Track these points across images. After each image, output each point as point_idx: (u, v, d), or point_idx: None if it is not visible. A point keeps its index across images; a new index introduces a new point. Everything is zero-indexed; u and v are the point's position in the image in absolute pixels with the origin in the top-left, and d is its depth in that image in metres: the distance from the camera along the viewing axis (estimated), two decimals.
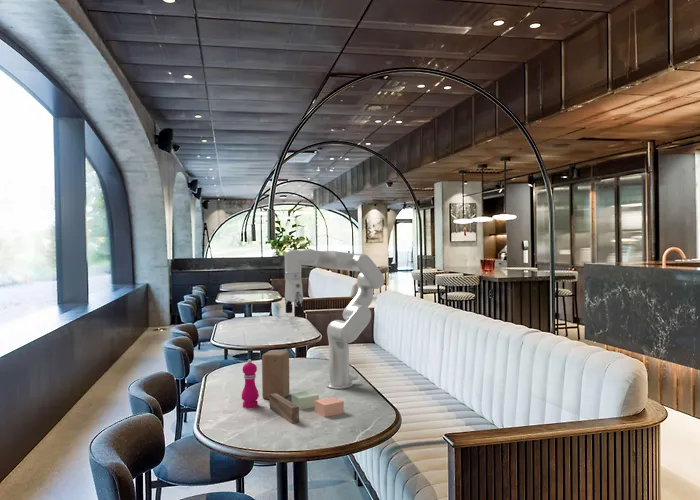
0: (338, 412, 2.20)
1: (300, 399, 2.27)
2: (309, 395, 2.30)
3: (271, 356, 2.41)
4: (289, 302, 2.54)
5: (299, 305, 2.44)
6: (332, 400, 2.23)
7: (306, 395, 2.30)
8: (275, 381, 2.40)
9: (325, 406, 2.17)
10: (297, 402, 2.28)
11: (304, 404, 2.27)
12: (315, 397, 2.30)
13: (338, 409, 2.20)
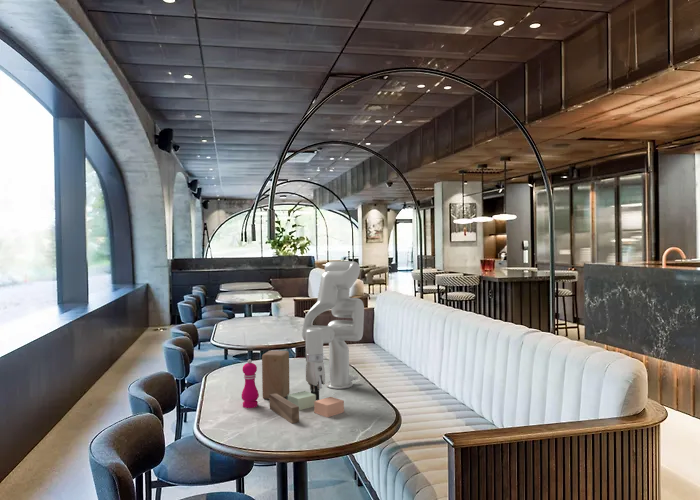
0: (339, 411, 2.21)
1: (299, 400, 2.26)
2: (307, 395, 2.30)
3: (271, 356, 2.41)
4: None
5: (317, 390, 2.33)
6: (332, 400, 2.23)
7: (303, 395, 2.30)
8: (275, 381, 2.40)
9: (328, 406, 2.17)
10: (295, 403, 2.27)
11: (302, 404, 2.27)
12: (312, 396, 2.30)
13: (339, 408, 2.21)
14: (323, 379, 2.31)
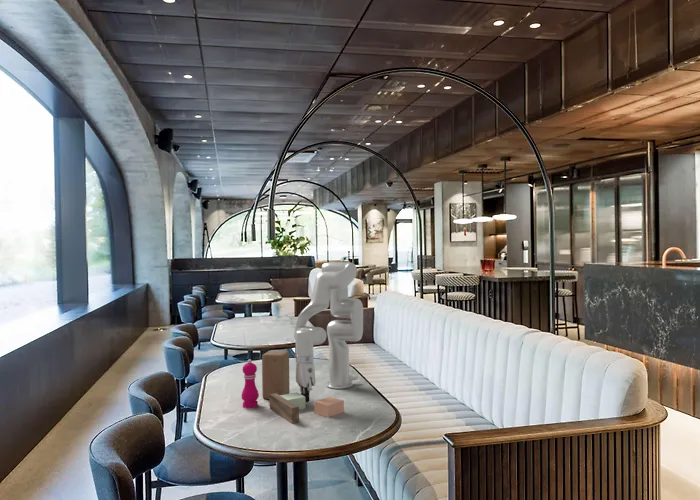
0: (339, 411, 2.21)
1: None
2: (296, 397, 2.27)
3: (271, 356, 2.41)
4: (304, 389, 2.33)
5: (307, 392, 2.30)
6: (332, 400, 2.23)
7: (293, 397, 2.28)
8: (275, 381, 2.40)
9: (328, 406, 2.17)
10: None
11: None
12: (301, 398, 2.28)
13: (339, 408, 2.21)
14: (313, 381, 2.28)
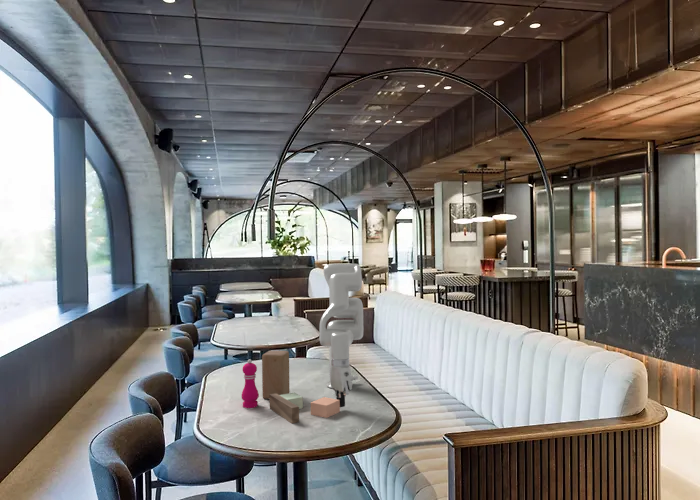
0: (336, 411, 2.21)
1: None
2: (293, 397, 2.27)
3: (271, 356, 2.41)
4: None
5: (343, 396, 2.23)
6: (327, 400, 2.23)
7: (290, 397, 2.28)
8: (275, 381, 2.40)
9: (327, 406, 2.16)
10: None
11: None
12: (299, 399, 2.27)
13: (336, 408, 2.21)
14: (349, 385, 2.21)
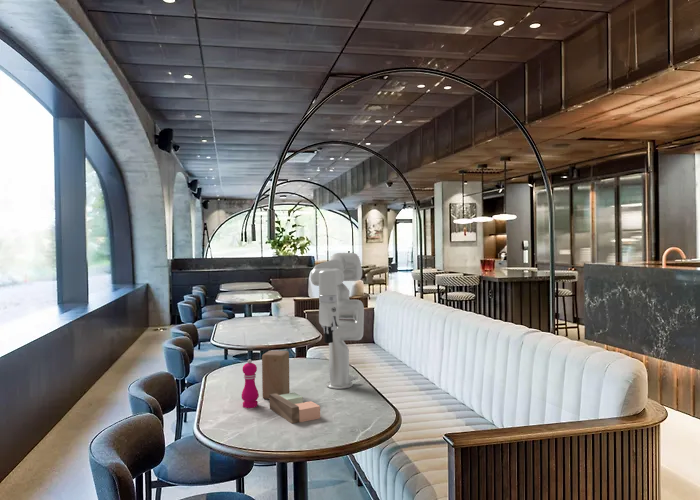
0: (314, 417, 2.14)
1: None
2: (294, 397, 2.27)
3: (271, 356, 2.41)
4: None
5: (330, 332, 2.28)
6: (309, 404, 2.17)
7: (290, 397, 2.28)
8: (275, 381, 2.40)
9: (300, 411, 2.11)
10: None
11: None
12: (299, 398, 2.28)
13: (314, 414, 2.14)
14: (337, 320, 2.26)
